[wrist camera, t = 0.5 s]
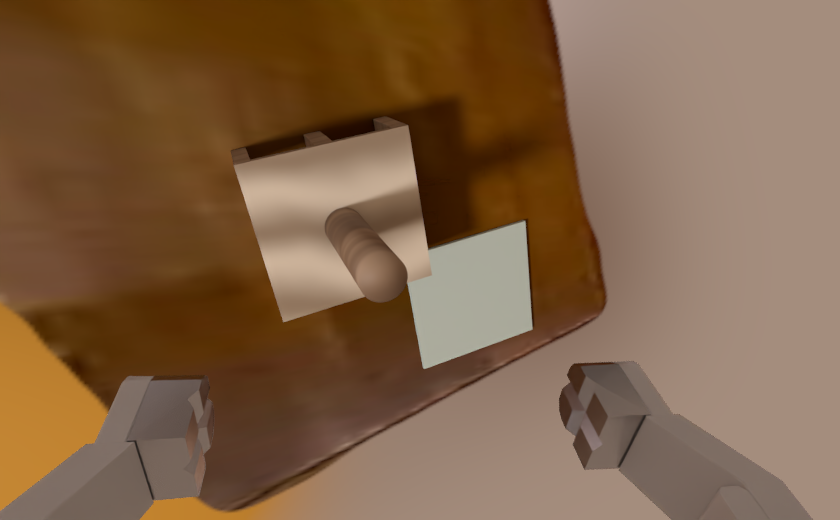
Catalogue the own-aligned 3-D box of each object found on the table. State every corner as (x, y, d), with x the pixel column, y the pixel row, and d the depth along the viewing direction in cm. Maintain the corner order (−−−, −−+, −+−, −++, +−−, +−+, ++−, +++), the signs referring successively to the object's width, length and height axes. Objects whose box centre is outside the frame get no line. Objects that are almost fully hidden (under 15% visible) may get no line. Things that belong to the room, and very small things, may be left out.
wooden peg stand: (230, 150, 42) (242, 206, 28) (385, 116, 46) (468, 149, 31) (275, 292, 48) (304, 400, 33) (409, 252, 52) (489, 333, 37)
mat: (402, 256, 52) (403, 257, 51) (523, 219, 55) (525, 220, 55) (423, 367, 58) (424, 369, 57) (530, 327, 61) (532, 329, 61)
